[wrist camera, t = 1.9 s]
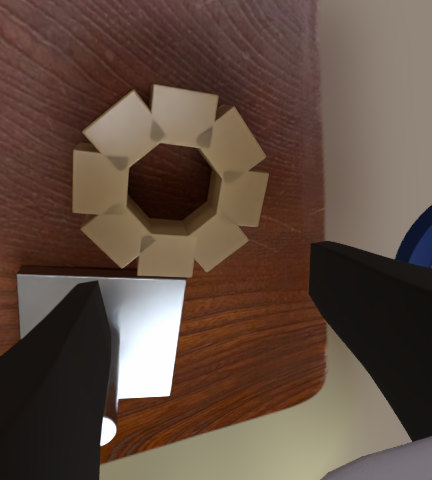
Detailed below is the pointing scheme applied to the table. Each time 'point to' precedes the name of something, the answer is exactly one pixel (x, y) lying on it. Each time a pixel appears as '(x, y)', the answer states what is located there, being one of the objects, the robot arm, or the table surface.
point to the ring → (138, 145)
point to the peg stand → (117, 326)
